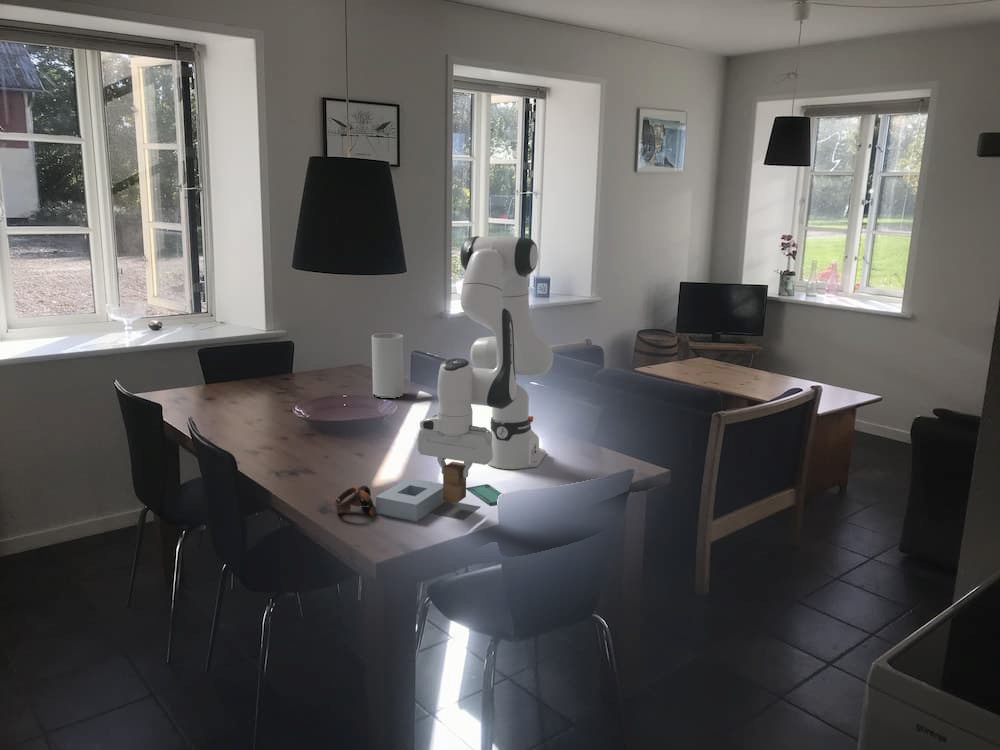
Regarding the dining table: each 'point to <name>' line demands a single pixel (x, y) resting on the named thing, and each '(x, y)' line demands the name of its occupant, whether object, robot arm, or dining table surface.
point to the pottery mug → (355, 500)
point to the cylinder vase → (387, 364)
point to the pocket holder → (410, 499)
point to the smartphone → (485, 493)
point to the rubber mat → (455, 510)
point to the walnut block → (453, 482)
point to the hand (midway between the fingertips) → (454, 475)
